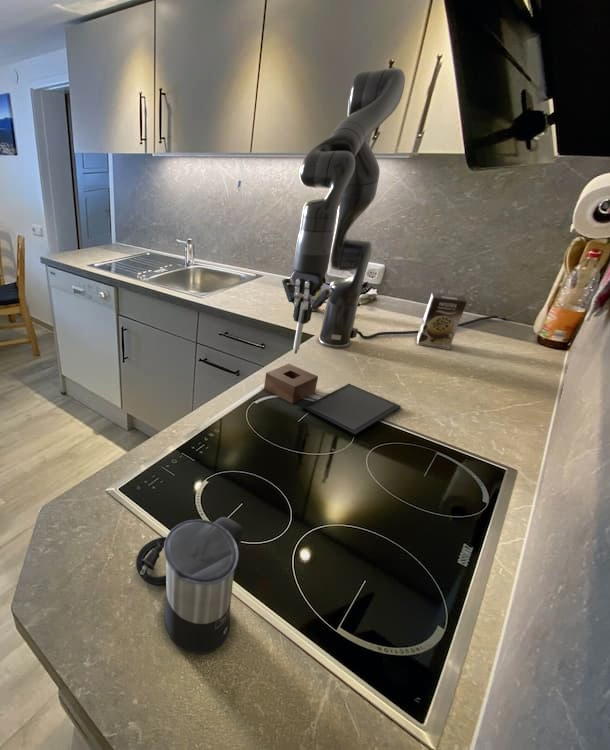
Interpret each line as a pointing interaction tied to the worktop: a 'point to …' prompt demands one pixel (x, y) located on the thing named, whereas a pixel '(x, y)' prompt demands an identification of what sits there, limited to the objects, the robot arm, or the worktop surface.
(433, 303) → the brown upright rectangular box
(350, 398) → the tablet
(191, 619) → the milk frother
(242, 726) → the worktop surface
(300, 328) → the stylus
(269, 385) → the stand
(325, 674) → the worktop surface
